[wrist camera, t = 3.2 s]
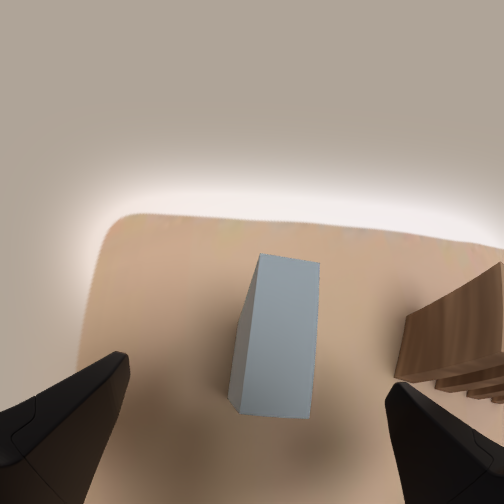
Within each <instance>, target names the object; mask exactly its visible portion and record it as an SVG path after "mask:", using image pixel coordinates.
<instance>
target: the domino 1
mask: <svg viewBox="0 0 504 504" xmlns="http://www.w3.org/2000/svg"><path fill="white" fill-rule="evenodd" d="M319 269H320V263H317V262H311V261H305V260H298V259H292V258H286V257H280V256H274V255H268V254H262V253H260V256H259V259H258V262H257V265H256V268H255V271H254V275H253V278H252V281H251V284H250V287H249V290H248V293H247V296H246V300H245V303H244V306H243V309H242V312H241V315H240V318H239V321H238V327H237V334H236V341H235V348H234V355H233V362H232V369H231V376H230V383H229V390H228V398H227V399H228V400H229V401H230V402H231V404H232V405H233V406H234V408H235V409H236V410H237V411H238V413H239V414H245V415H255V416H266V417H280V418H300V419H309V416H310V408H311V398H312V388H313V378H314V366H315V354H316V339H317V322H318V301H319Z"/></svg>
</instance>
